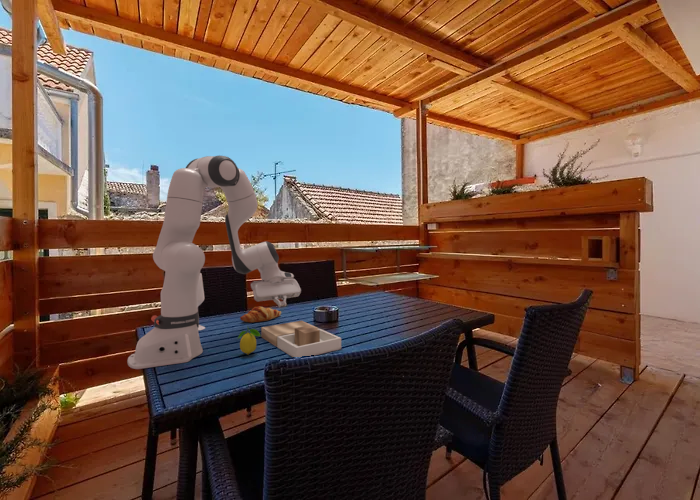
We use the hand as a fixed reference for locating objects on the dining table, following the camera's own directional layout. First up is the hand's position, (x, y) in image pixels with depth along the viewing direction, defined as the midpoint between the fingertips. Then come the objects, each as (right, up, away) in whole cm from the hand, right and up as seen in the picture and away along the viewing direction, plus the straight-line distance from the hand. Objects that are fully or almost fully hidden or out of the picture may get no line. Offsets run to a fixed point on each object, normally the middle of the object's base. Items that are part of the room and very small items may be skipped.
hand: (282, 306), depth 144 cm
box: (+13, -13, -17) cm, 25 cm away
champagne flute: (-39, -11, +8) cm, 41 cm away
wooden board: (+4, -12, -4) cm, 13 cm away
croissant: (-14, -11, +23) cm, 29 cm away
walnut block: (+10, -9, -12) cm, 18 cm away
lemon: (-7, -13, -23) cm, 28 cm away
